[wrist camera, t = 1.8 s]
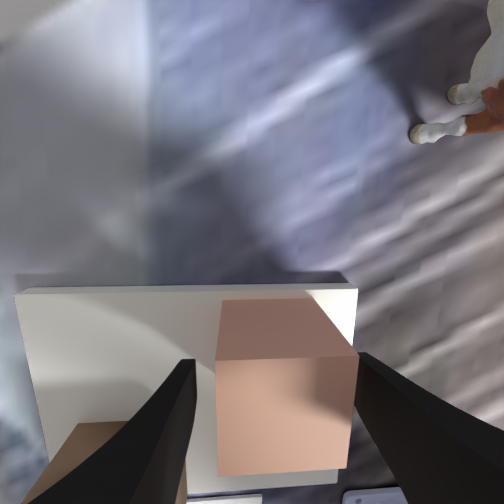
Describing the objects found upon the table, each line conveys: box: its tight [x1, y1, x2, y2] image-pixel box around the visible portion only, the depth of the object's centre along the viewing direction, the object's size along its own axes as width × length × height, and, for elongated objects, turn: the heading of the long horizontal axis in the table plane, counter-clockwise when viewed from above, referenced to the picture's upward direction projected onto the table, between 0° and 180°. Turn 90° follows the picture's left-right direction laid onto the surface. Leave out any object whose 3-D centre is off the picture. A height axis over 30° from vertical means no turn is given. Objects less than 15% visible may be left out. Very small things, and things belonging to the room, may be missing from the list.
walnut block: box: [21, 421, 188, 504], centre depth 13 cm, size 6×6×4 cm
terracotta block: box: [215, 298, 359, 477], centre depth 11 cm, size 5×5×5 cm
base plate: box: [13, 283, 358, 494], centre depth 15 cm, size 18×14×1 cm
